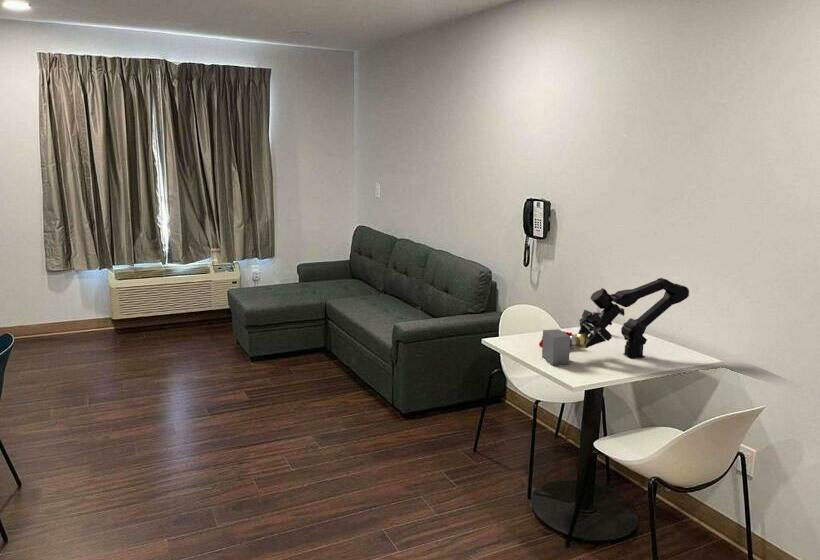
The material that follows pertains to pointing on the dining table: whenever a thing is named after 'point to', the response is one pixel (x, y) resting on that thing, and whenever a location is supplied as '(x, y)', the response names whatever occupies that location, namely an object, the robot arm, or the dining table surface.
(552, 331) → the housing
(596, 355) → the dining table surface
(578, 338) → the gold cylindrical piece
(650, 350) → the dining table surface
